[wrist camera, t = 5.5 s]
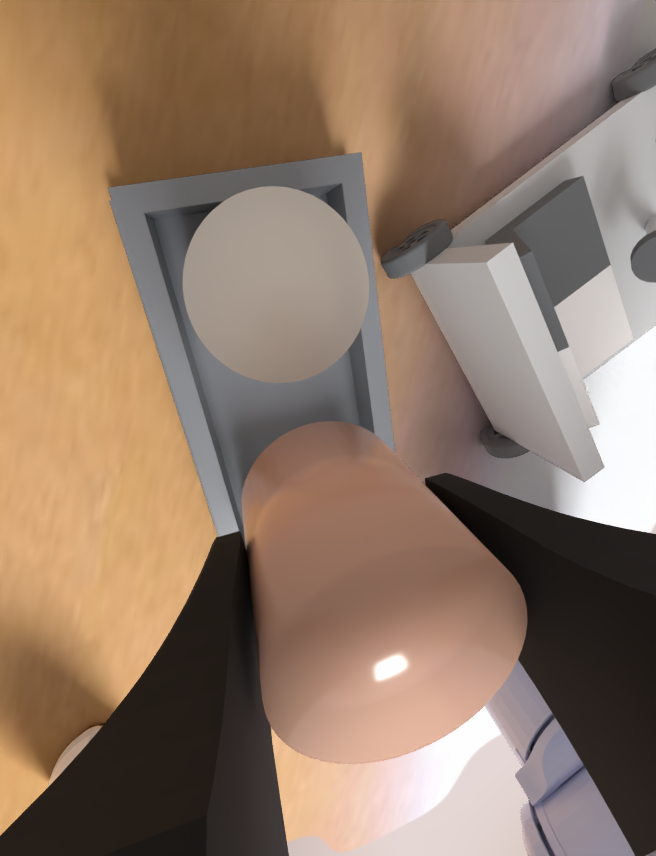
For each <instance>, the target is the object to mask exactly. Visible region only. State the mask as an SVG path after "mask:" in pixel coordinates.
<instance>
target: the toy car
mask: <svg viewBox="0 0 656 856" xmlns="http://www.w3.org/2000/svg"><path fill="white" fill-rule="evenodd" d="M612 88H613V92H614V96H615V99H616V101H620V102H618V103H617V104H616V105H615V106H613V107H612V108H611V109H609V110H608V111H607V112H605V113H604V114H603V115H601V116H600V117H599V118H597V119H596V120H595V121H594V122H592V123H591V124H590V125H588V126H587V127H586V128H584V129H583V130H582V131H580V132H579V133H578V134H576V135H575V136H574V137H572V138H571V139H570V140H569V141H567V142H566V143H565V144H563V145H562V146H561V147H559V148H558V149H557V150H555V151H554V152H553V153H551V154H550V155H549V156H548V157H546V158H545V159H544V160H542V161H541V162H540V163H538V164H537V165H536V166H534V167H533V168H532V169H530V170H529V171H528V172H527V173H525V174H524V175H523V176H521V177H520V178H519V179H517V180H516V181H515V182H513V183H512V184H511V185H509V186H508V187H507V188H506V189H504V190H503V191H502V192H500V193H499V194H498V195H496V196H495V197H494V198H492V199H491V200H490V201H488V202H487V203H486V204H485V205H483V206H482V207H481V208H479V209H478V210H477V211H475V212H474V213H473V214H471V215H470V216H469V217H467V218H466V219H465V220H464V221H462V222H461V223H460V224H458V225H457V226H456V227H454V228H453V229H452V230H450V228H449V226H448V224H447V222H446V221H445V220H444V219H439V220H435V221H433V222H430V223H428V224H426V225H424V226H422V227H420V228H419V229H417V230H415V231H414V232H413V233H412V234H410V235H409V236H408V238H407V239H406V240H405V241H404V242H403V243H402V244H400V245H399V246H397V247H394V248H392V249H391V250H389V251H388V252H387V253H385V254H384V255H383V257H382V258H381V265H382V267H383V268H384V270H385V272H386V274H387V275H388V277H389V278H391V279H396V278H400V277H403V276H405V275H408V274H411V276H412V278H413V279H414V281H415V283H416V285H417V287H418V289H419V290H420V292H421V294H422V296H423V298H424V300H425V302H426V303H427V305H428V307H429V309H430V311H431V313H432V315H433V316H434V318H435V320H436V322H437V324H438V326H439V328H440V329H441V331H442V333H443V335H444V337H445V339H446V341H447V342H448V344H449V346H450V348H451V350H452V352H453V354H454V355H455V357H456V359H457V361H458V363H459V365H460V367H461V368H462V370H463V372H464V374H465V376H466V378H467V380H468V381H469V383H470V385H471V387H472V389H473V391H474V393H475V394H476V396H477V398H478V400H479V402H480V404H481V405H482V407H483V409H484V411H485V413H486V415H487V417H488V418H489V420H490V422H491V425H489V426H487V427H486V428H485V429H483V430H482V432H481V441H482V443H483V445H484V447H485V448H486V450H487V452H488V453H489V454H491V455H493V456H495V457H498V458H513V457H517V456H520V455H523V454H525V453H527V452H529V451H531V452H533V453H535V454H537V455H538V456H540V457H542V458H543V459H545V460H547V461H549V462H550V463H552V464H554V465H556V466H557V467H559V468H561V469H562V470H564V471H566V472H568V473H569V474H571V475H573V476H575V477H576V478H578V479H580V480H581V481H583V482H585V481H587V480H588V479H589V478H591V477H592V476H594V475H595V474H596V473H598V472H599V471H600V470H602V469H603V468H604V465H603V462H602V460H601V457H600V455H599V453H598V450H597V448H596V445H595V443H594V440H593V438H592V435H591V433H590V430H589V428H590V427H593V426H596V425H599V421H598V419H597V416H596V414H595V411H594V409H593V406H592V403H591V401H590V398H589V396H588V393H587V391H586V388H585V386H584V383H583V380H584V379H585V378H586V377H588V376H589V375H590V374H592V373H593V372H594V371H596V370H597V369H598V368H600V367H601V366H602V365H604V364H605V363H606V362H608V361H609V360H610V359H612V358H613V357H614V356H616V355H617V354H618V353H620V352H621V351H622V350H624V349H625V348H626V347H628V346H629V345H630V344H632V343H633V342H634V341H636V340H637V339H638V338H640V337H641V336H642V335H644V334H645V333H646V332H648V331H649V330H650V329H652V328H653V327H654V326H656V49H654V50H652V51H651V52H649V53H648V54H646V55H645V56H643V57H642V58H641V59H640V60H639V61H638V62H637V63H636V64H635V65H634V66H633V67H632V68H631V69H630V70H628V71H625V72H623V73H621V74H620V75H618V76H617V77H616V78H615V79H614V80H613V81H612Z"/></svg>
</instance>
